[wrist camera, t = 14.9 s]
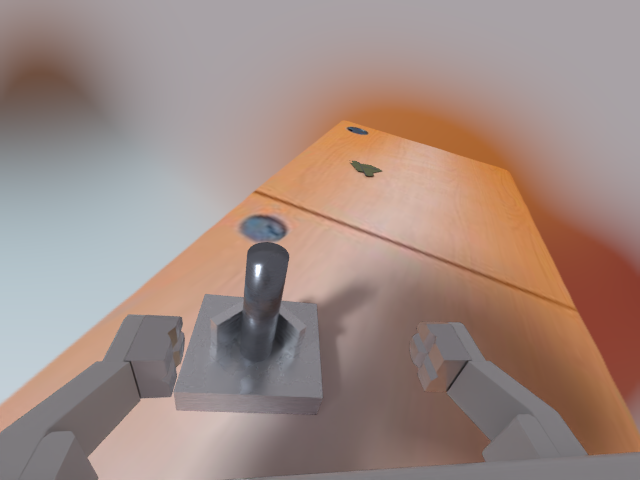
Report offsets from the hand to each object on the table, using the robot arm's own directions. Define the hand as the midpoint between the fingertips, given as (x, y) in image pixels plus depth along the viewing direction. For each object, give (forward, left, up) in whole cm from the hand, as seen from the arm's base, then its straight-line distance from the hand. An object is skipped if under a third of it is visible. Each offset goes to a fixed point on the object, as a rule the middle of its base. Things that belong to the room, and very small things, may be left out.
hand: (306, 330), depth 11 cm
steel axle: (-2, +17, -26) cm, 31 cm away
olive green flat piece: (+28, +93, -30) cm, 102 cm away
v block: (-1, +17, -30) cm, 34 cm away
